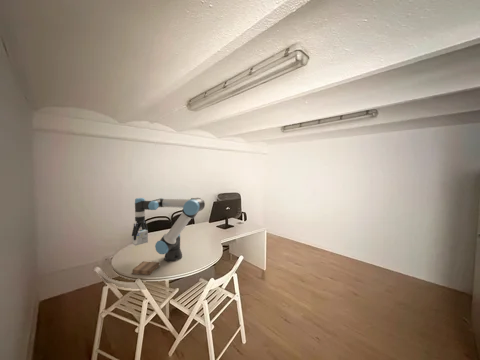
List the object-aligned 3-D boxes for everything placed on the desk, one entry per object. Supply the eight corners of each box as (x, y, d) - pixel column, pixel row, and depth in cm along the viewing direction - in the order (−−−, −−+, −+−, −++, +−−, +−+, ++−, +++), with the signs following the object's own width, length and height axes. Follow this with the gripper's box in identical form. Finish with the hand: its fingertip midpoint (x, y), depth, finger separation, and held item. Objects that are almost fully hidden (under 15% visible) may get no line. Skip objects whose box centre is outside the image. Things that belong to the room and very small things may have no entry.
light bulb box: (144, 240, 176) (144, 228, 176) (148, 242, 172) (148, 230, 171) (132, 243, 168) (131, 231, 167) (135, 245, 164) (135, 233, 163)
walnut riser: (159, 265, 163) (159, 262, 163) (149, 274, 149) (149, 270, 149) (143, 264, 165) (143, 261, 164) (132, 273, 151) (132, 269, 150)
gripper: (144, 213, 181) (144, 236, 182) (126, 219, 157) (126, 245, 158) (151, 213, 181) (152, 236, 182) (135, 219, 156) (135, 246, 157)
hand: (140, 240), depth 170 cm, fingers closed on light bulb box, 12 cm apart
